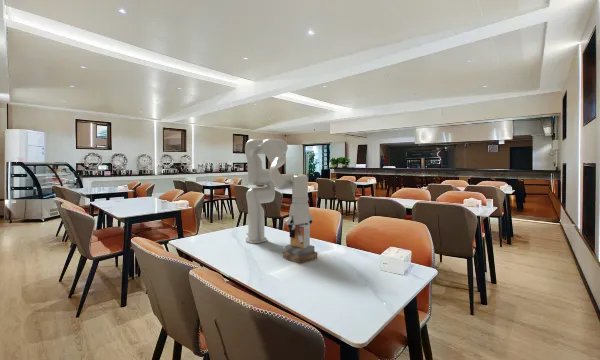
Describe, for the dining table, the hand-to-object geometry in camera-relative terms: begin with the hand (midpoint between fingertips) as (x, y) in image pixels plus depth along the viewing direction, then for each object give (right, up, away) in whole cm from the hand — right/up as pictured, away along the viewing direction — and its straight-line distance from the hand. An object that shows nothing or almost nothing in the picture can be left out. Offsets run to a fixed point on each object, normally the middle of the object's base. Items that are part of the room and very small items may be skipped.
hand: (299, 235), depth 143 cm
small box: (0, -5, +1) cm, 5 cm away
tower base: (0, -11, +1) cm, 11 cm away
